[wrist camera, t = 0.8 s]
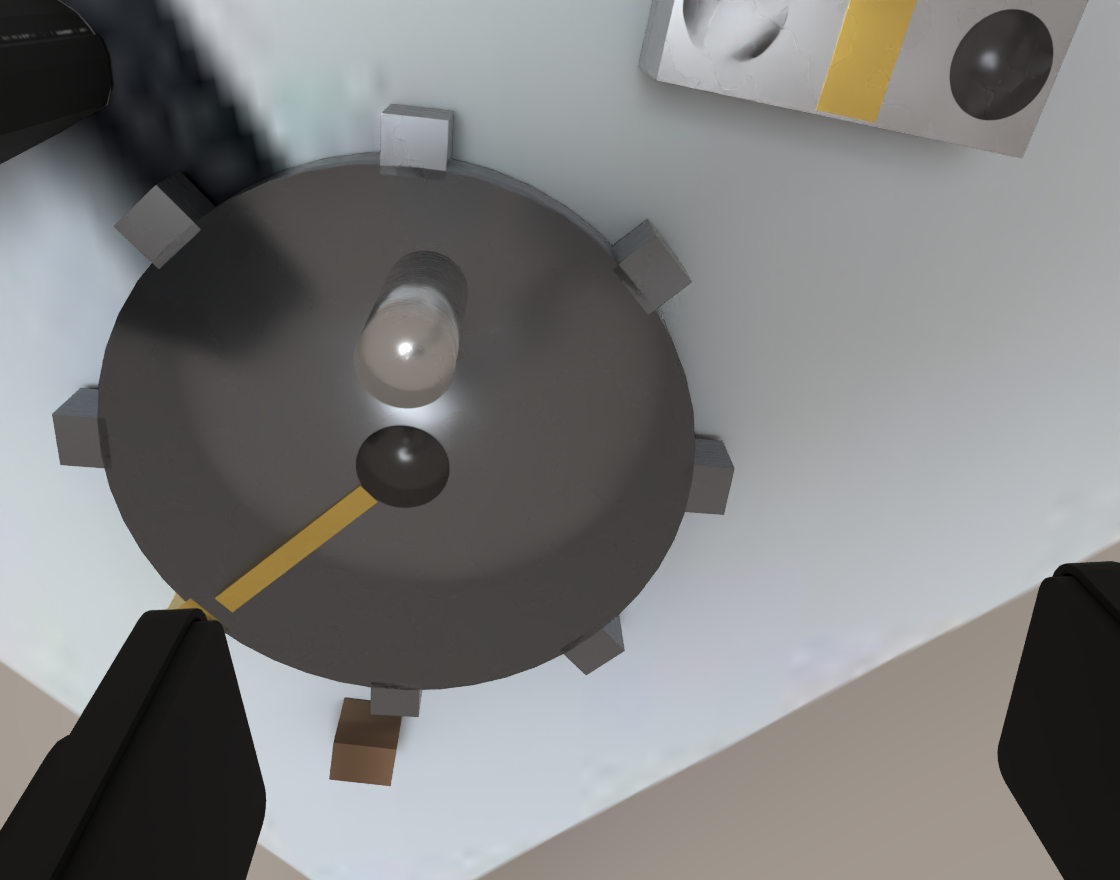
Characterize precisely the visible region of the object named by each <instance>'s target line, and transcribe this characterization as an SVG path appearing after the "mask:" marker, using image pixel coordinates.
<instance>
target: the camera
mask: <svg viewBox="0 0 1120 880" xmlns="http://www.w3.org/2000/svg"><path fill="white" fill-rule="evenodd" d="M111 86H112V84H111V76H110V67H109V59H108V55H107V52H106V50H105V47H104V45H103V42H102V40H101V38H100V37H99V35H95V33H94V31H93V30H92V28H91V27H90V26H89V25H88V24H87V22H86V21H85V20H84V19H83V18H82V17H81V16H80V15H79V13H78V12H76V11H75V10H73V9H72V8H70V7H69V6H67V5H66V4H64V3H63V2H61V1H60V0H0V164H1V163H3V162H5V161H7V160H9V159H11V158H13V157H15V156H17V155H18V154H20V153H22V152H24V151H26V150H28V149H30V148H32V147H34V146H35V145H37V144H39V143H41V142H43V141H45V140H47V139H49V138H51V137H53V136H54V135H56V134H58V133H60V132H62V131H63V130H65V129H67V128H68V127H70V126H71V125H73V124H75V123H76V122H78V121H79V120H81V119H83V118H84V117H86V116H88V115H90V114H92V113H94V112H96V111H98V110H100V109H101V108H103V107H105V106H107V105H108V101H109V96H110V92H111Z"/></svg>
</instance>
